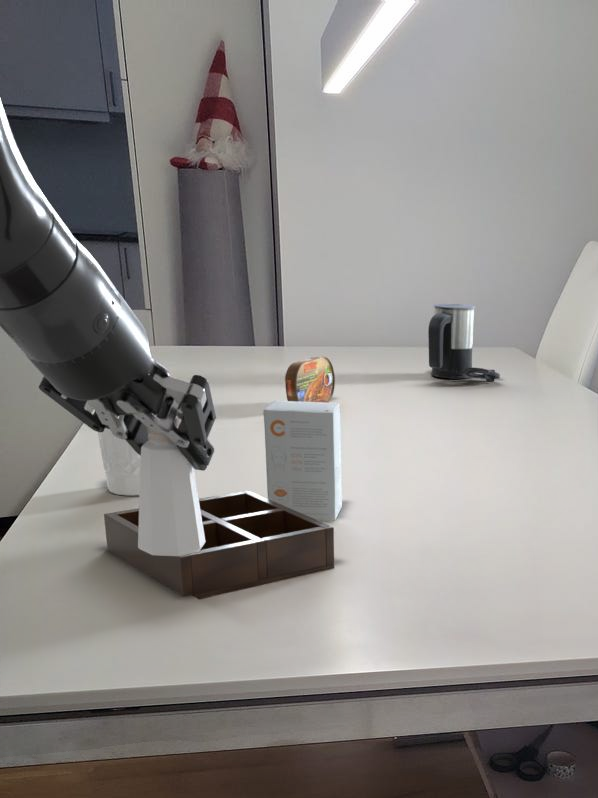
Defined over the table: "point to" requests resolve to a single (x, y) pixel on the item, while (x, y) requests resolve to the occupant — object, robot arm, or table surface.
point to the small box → (304, 457)
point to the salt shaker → (168, 500)
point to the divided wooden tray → (231, 546)
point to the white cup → (120, 464)
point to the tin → (310, 380)
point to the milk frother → (454, 343)
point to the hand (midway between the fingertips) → (180, 456)
